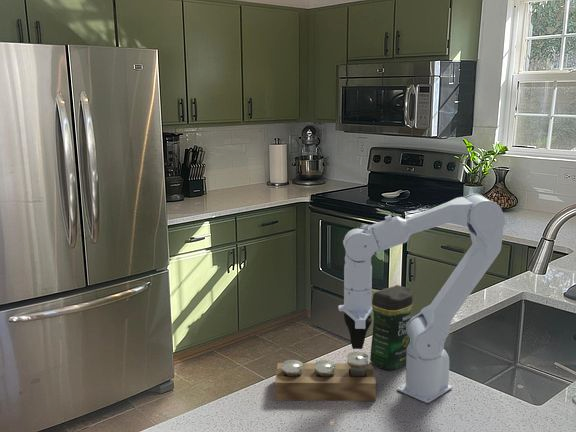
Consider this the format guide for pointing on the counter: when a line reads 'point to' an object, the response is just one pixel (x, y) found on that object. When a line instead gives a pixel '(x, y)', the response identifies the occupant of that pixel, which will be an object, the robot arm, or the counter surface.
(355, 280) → the robot arm
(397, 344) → the coffee jar
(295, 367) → the knob
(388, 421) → the counter surface
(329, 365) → the middle knob
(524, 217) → the counter surface
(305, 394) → the block
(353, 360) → the knob
